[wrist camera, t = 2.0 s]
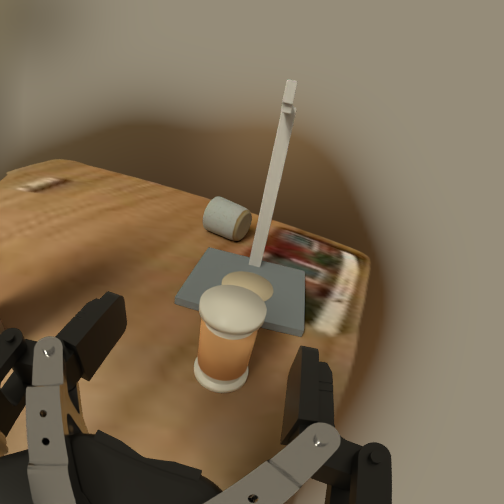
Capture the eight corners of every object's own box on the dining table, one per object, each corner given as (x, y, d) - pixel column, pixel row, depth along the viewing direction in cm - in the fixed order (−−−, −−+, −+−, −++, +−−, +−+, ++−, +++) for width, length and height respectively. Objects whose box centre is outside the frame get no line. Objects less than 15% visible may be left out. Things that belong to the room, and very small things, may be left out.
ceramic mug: (233, 247, 56) (240, 211, 52) (199, 234, 58) (204, 199, 55) (256, 233, 64) (263, 201, 61) (225, 221, 67) (231, 191, 64)
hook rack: (174, 303, 38) (203, 59, 23) (207, 252, 52) (236, 79, 38) (301, 336, 37) (378, 96, 22) (303, 276, 51) (351, 104, 36)
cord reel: (186, 383, 27) (190, 316, 22) (202, 346, 32) (210, 278, 28) (241, 399, 26) (261, 335, 22) (251, 359, 32) (270, 293, 27)
